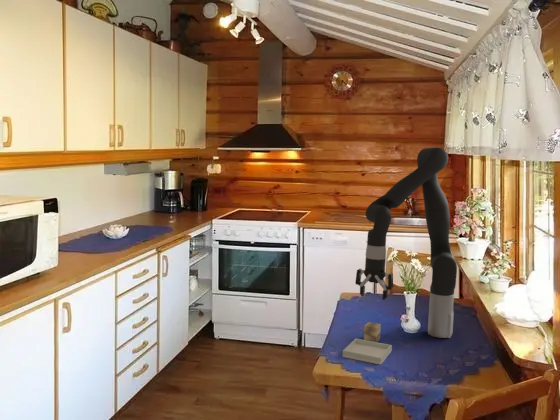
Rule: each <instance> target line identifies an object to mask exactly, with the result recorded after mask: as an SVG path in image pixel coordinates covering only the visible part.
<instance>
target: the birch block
mask: <svg viewBox="0 0 560 420" xmlns="http://www.w3.org/2000/svg"><path fill="white" fill-rule="evenodd" d="M381 326H382V325H381V323H376V322H369V321H368V322H367V323H366V324H365V325H364V326H363V340H367V341H372V342H378V343H379V341H380V340H381V329H382V328H381Z"/></svg>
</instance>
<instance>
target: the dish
mask: <svg viewBox="0 0 560 420" xmlns="http://www.w3.org/2000/svg"><path fill="white" fill-rule="evenodd" d="M392 349H393V344H389V343H388V344H387V343H382V342H379V341H378V342H372V341H367V340H364V339H361V338H354V339H353V340H352V341H351V342H350V343H349V344H348V345H346V347H344V349H342V358H347V359H352V360H355V361H356V360H357V361H361V362H366V363H372V364H376V365H382V364H383V362H384V361H385V360H386V359H387V358H388V356H389V355H390V354H391V352H393V351H392Z"/></svg>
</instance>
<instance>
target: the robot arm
mask: <svg viewBox="0 0 560 420" xmlns="http://www.w3.org/2000/svg"><path fill="white" fill-rule="evenodd" d="M416 157H417V158H416V163H417V168H416V169H414V170H413V171H412V172H411V173H409V174H407V175H406V176H404V177H403V178H401V179H400V180H398V181H397V182H396V183H395V184H394V185H393V186H392V187H390V188H389V190H387V192H386V193H384V195H382V196H379V197H378V198H377V199H375V200H374V201H372V202H371V203H370V204H369V205H368V206H367V207H366V210H365V218H366V219H367V220H368V221H369V222H370V223H373V227H372V229H369V230H368V232H367V242H366V248H365V249H366V250H365V263H364V264H365V266H364V269H362V268H358V269H357V270H356V276H355V285H358V286H359V295H360V296H361V297H364V296H365V294H366V293H365V292H366V286H365V285H366V284H367V283H368V282H369V283H375V284H378V285H380V287H381V288H382V289H383V290H382V300H384V301H385V300H386V299H387V298H388V293H389V290H390V291H391V290H392V289H393V288H394V274H393V272H390V273H387V272H386V259H387V257H386V256H387V246H386V245H387V244H386V243H387V234H388V231H389V227H390V224H391V222H392V214H391V210H392V209H397V208H399V207H400V206H401V205H402V204H404V202H405V201H406V200H407V199H408V198H409V197H410V196H411V195H412V194H413V193H414V192H415V191H416V190H417V189H419V188H420V187H421V188H422V195H423V203H424V215H425V221H426V226H427V233H428V236H429V241H430V244H429V245H430V266H431V269H432V271H431V272H432V276H431V284H430V286H429V287H430V288H429V302H428V303H429V304H428V305H429V306H428V322H427V334H428V335H429V336H431V337H434V338H440V339H442V338H443V339H451V337H452V336H453V333H454V332H453V330H454V314H455V311H454V302H455V301H454V299H455V296H454V295H455V289H456V287H457V286H456V285H457V272H458V264H457V262H456V260H455V259H454V257H453V255H452V250H451V245H450V238H449V237H450V230H451V229H450V228H451V227H450V225H451V216H450V215H451V214H450V207H449V202H448V199H447V197H446V194H445V193H444V191H443V189H442V187H441V185H440V183H439V177H438V173H439V172H440V171H442V170H444V168H446V166H447V165H448V162H449V155H448V153H447V151H446V150H445V149H444V148H442V147H438V146H437V147H427V148H423V149H421V150H420V151H419V152H418V154H417V156H416ZM362 275H364V276H365V278H364V279H363V280H362ZM385 277H386V279H387V282H386V280H385ZM387 283H388V284H387Z"/></svg>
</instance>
